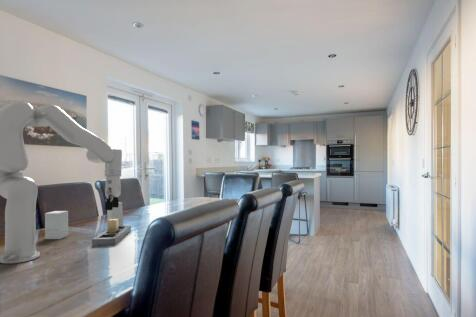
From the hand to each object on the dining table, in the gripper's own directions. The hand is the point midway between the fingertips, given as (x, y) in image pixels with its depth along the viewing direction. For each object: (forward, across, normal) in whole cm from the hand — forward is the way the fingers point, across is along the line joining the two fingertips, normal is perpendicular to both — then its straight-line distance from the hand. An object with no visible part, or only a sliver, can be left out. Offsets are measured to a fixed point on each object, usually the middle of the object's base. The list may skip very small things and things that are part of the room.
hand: (112, 208), depth 146 cm
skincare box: (+14, +21, +4) cm, 26 cm away
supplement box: (+15, +5, +27) cm, 32 cm away
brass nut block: (+14, +1, -1) cm, 14 cm away
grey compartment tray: (+14, +1, -1) cm, 14 cm away
